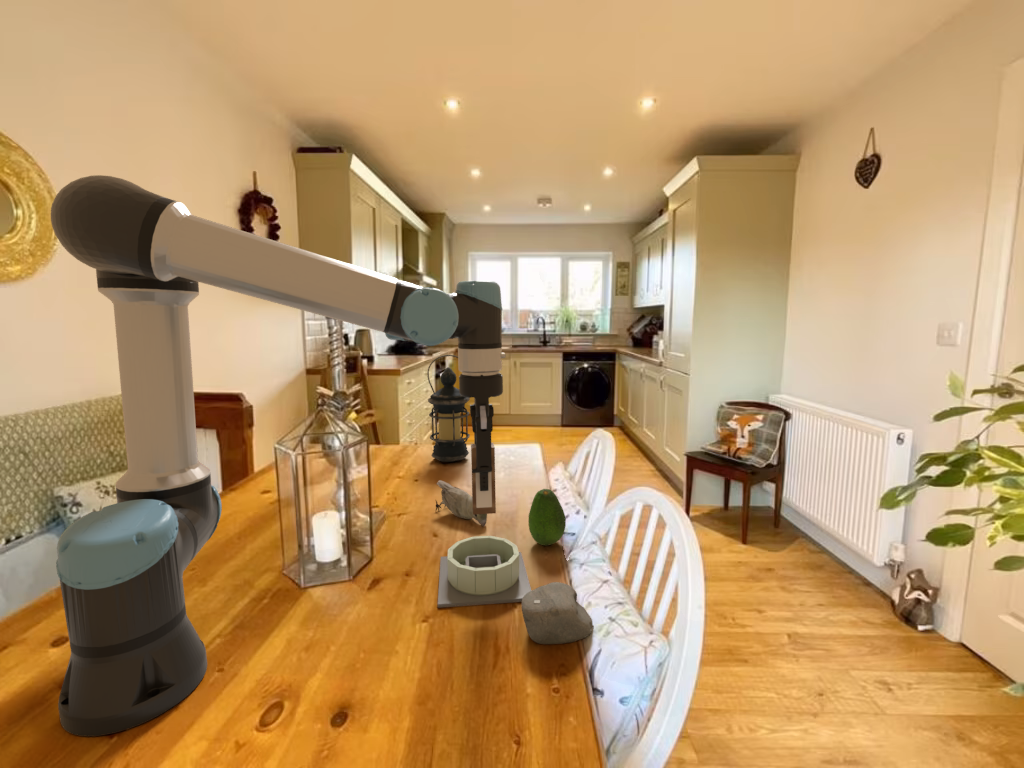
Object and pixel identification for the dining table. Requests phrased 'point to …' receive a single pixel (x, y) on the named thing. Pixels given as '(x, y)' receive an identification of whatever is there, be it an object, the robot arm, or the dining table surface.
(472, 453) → the wooden rectangular beam
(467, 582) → the square base green ring
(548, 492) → the fruit
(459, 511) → the decorative bird
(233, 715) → the dining table surface
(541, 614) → the stone
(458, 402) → the lantern
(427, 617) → the dining table surface
